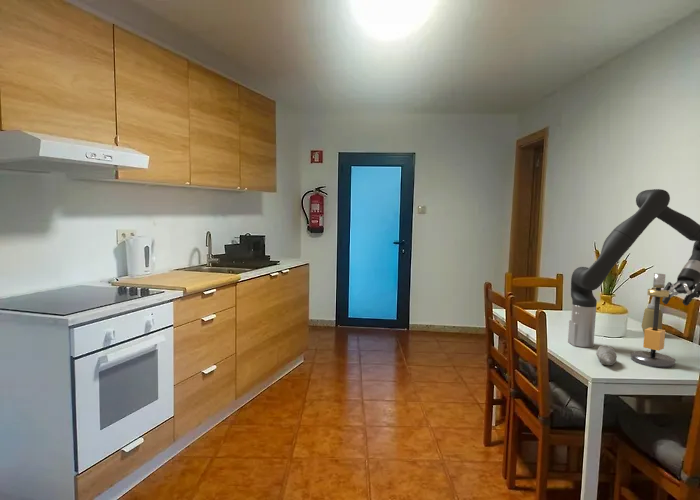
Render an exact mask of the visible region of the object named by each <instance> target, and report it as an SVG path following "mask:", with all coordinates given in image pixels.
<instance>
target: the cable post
mask: <svg viewBox="0 0 700 500" xmlns="http://www.w3.org/2000/svg"><path fill="white" fill-rule="evenodd" d="M665 283H666V274H664V273H657V272H656V273H653V282H652V287H653V288H647V296H650V297H655V306H654V318H653V330H654V331H658V319H659V310H660V306H661V298H664V297H669V294H670V293H669V291H667V290H663V289H664V288H665V286H666V284H665ZM630 359H631V361H633V362H634V363H636V364H640V365H641V366H647V367H650V368H656V369H658V368H659V369H672V368H675V366H676V365H675V364H676V359H675V358H674V357H672V356H669V355H667V354H663V353H659V352H657V350H653V349H650V351H648V350H647V351H646V350H635V351H632V352H631V356H630Z"/></svg>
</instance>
